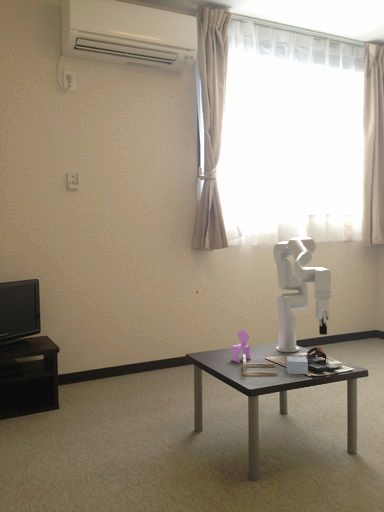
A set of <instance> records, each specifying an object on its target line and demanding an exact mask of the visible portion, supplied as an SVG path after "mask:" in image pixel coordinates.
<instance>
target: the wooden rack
mask: <svg viewBox="0 0 384 512" xmlns="http://www.w3.org/2000/svg"><path fill="white" fill-rule="evenodd" d="M255 367H256V368H258V367H259V368H274V367H275V363H274V362H272V363H271V362H270V363H268V362H262V363H260V362H257V363H256V362H247V358H246V355H245V354H243V353H242V369H243V370H242V371H243V376H244V377H245V376H257V377H258V376H261V377H263V376H270V377H271V376H273V377H275V376H278V372H277V371H247V368H255Z"/></svg>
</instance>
